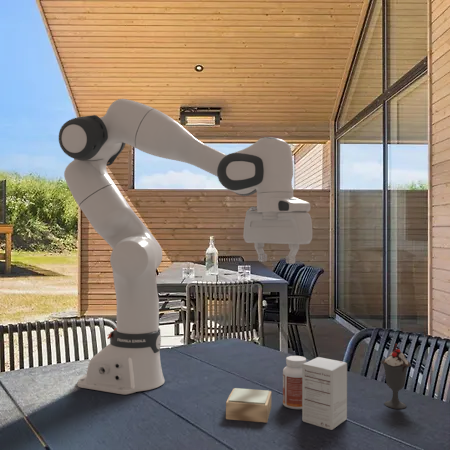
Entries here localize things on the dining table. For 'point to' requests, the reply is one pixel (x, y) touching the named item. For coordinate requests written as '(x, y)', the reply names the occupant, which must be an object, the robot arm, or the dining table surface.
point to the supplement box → (324, 392)
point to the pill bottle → (293, 382)
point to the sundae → (395, 376)
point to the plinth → (248, 405)
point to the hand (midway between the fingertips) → (276, 262)
